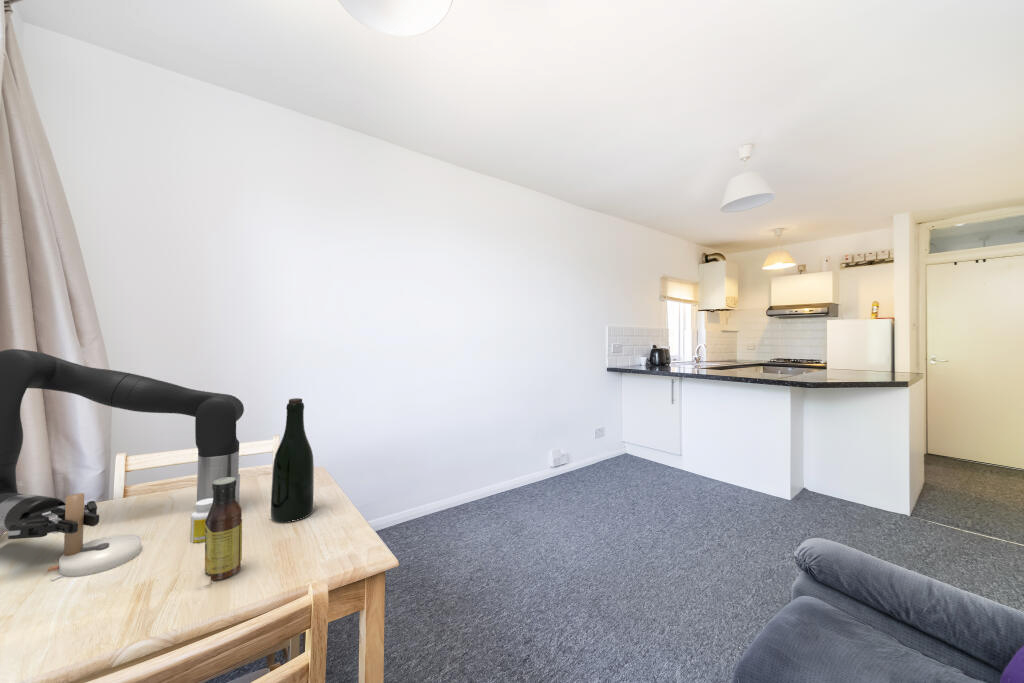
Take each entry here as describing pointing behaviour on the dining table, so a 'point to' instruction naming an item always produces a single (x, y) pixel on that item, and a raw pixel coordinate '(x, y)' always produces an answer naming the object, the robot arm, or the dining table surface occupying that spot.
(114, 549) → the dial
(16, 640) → the dining table surface
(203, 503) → the supplement bottle
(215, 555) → the sauce bottle
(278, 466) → the dark green wine bottle
